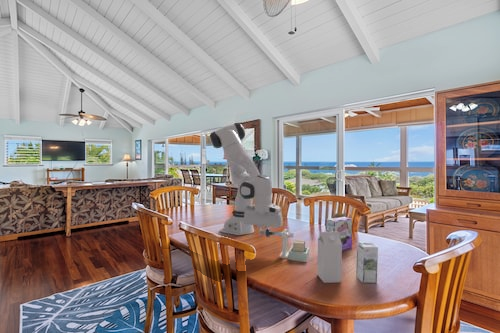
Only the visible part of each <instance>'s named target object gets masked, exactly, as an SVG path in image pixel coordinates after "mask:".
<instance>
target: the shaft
mask: <svg viewBox="0 0 500 333" xmlns="http://www.w3.org/2000/svg"><path fill="white" fill-rule="evenodd" d="M282 234H283V231H274V230H273V231H272V230H271V229H270V228H267V230H266V234H265V237H266V238H270V236H276V237H282ZM286 237H288V238H291V239H292V238H293V239H294V233H292V232H288V233H286Z"/></svg>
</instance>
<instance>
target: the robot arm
mask: <svg viewBox="0 0 500 333" xmlns="http://www.w3.org/2000/svg"><path fill="white" fill-rule="evenodd" d="M245 136H246V130H245V127H244V125H242V124H241V123H240V122H235V123H233V124H230V125H225V126H223V127H222V128H219V129H217V130H214V131H213V132H211V133H210V134H209V142H210V144H211V145H212V147H213V148H215V149H221V148H222V150H223V153H224V157H225V158H226V161H227V164H228V167H229V170H230V176H231V182H232V184H233V185H234V187H236V188H237V192H236V193H237V194H236V196H235V198H234V199H235V200H234V201H235V202H234V207H235V208H234V210H233V211H231V214H232V216H230V217H229V218H228V219H226V220H225V221H224V223H223V227H222V228H220V229H219V230H220V233H225V234H229V235H230V234H231V235H236V236H241V235H242V236H243V235H249V234H253V233H254V232H255V229H254V226H257V229H258V231H259V235H264V236H266V230H267V229H269V227H271V228H282V227H283V224H284V220H283V214H282V212H281V210H282V208H281V206H279V205H277V204H274V203H273V200H272V194H273V185H272V179H271V178H270V177H269V176H268V175H264V174H261V172H260V169H259V168H258V166H257V165H256V162H255V161H254V159H253V158H252V157H251V156H250V154H249V153H248V152H247V150H246V148H245V147H244V145H243V142H242V140H243V139H244V138H245ZM253 200H254V206H253ZM262 227H264V229H262Z"/></svg>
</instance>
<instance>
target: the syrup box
mask: <svg viewBox="0 0 500 333" xmlns="http://www.w3.org/2000/svg"><path fill="white" fill-rule="evenodd" d="M378 255H379V247H378V246H377V245H376V244H375V243H374V242H373V243H372V242H370V241H369V242H366V241H365V242H363V241H361V242H357V244H356V271H355V272H356V273H355V275H356V276H355V277H356V278H357V279H358V280H359V281H360V282H361V283H362V284H377V283H378V259H379V256H378Z"/></svg>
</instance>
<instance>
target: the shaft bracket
mask: <svg viewBox="0 0 500 333" xmlns="http://www.w3.org/2000/svg"><path fill="white" fill-rule="evenodd" d="M282 232H283V234H282V236H281V237H282V238H281V239H282V246H281V248H282V250H281V252H280V254H279V256H278V257H279V258H281V259H288V260H290V261H296V262H305V263H307V262H308V259H309V258H310V247H308V246H305V253H303V252H295V251H293V245H291V247H290V248H289V249H288V244H289V243H288V240H289V239H288V238H289V237H286V233H289V231H288V229H287V228H283V230H282Z"/></svg>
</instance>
